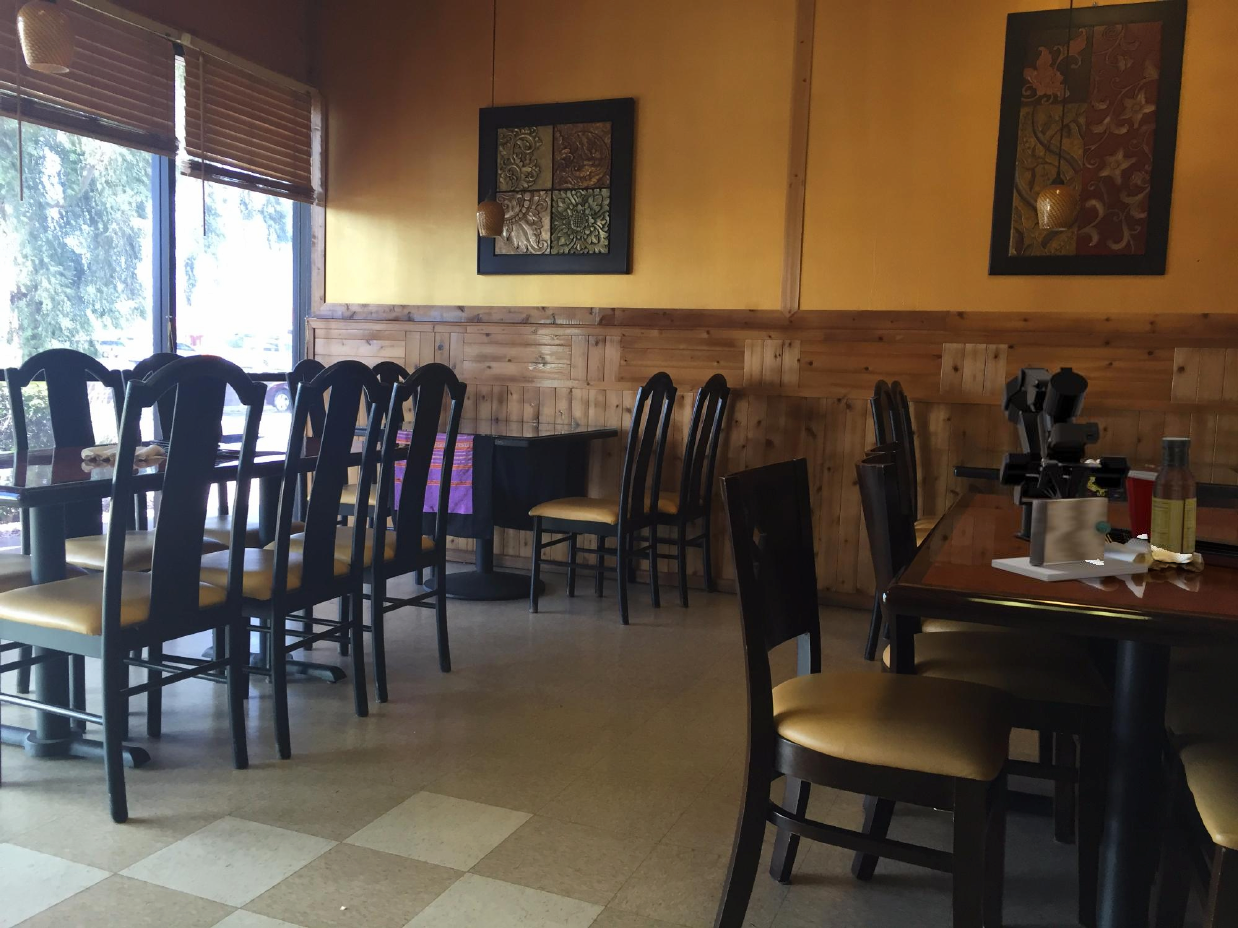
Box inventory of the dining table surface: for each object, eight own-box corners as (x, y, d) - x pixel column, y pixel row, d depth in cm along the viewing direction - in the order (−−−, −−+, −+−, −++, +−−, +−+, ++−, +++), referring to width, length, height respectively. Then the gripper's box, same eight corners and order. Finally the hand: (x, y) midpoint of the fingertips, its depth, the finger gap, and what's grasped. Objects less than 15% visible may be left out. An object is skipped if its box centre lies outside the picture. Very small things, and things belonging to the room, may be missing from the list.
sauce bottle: (1182, 557, 161) (1191, 437, 159) (1201, 565, 155) (1210, 440, 153) (1140, 556, 162) (1149, 436, 160) (1157, 564, 156) (1166, 439, 154)
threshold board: (1047, 581, 142) (1047, 574, 142) (991, 566, 152) (992, 559, 152) (1147, 572, 149) (1147, 565, 149) (1088, 558, 159) (1088, 552, 159)
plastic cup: (1185, 546, 172) (1190, 478, 171) (1116, 539, 178) (1120, 473, 176) (1185, 537, 181) (1190, 472, 180) (1120, 531, 187) (1124, 468, 186)
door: (1044, 567, 145) (1048, 503, 144) (1026, 562, 148) (1029, 500, 147) (1114, 561, 151) (1119, 499, 150) (1096, 557, 154) (1099, 496, 153)
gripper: (1006, 403, 160) (1014, 477, 150) (1131, 406, 156) (1147, 483, 146) (996, 447, 168) (1003, 520, 159) (1114, 451, 164) (1128, 526, 155)
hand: (1069, 512), depth 154 cm, fingers closed
